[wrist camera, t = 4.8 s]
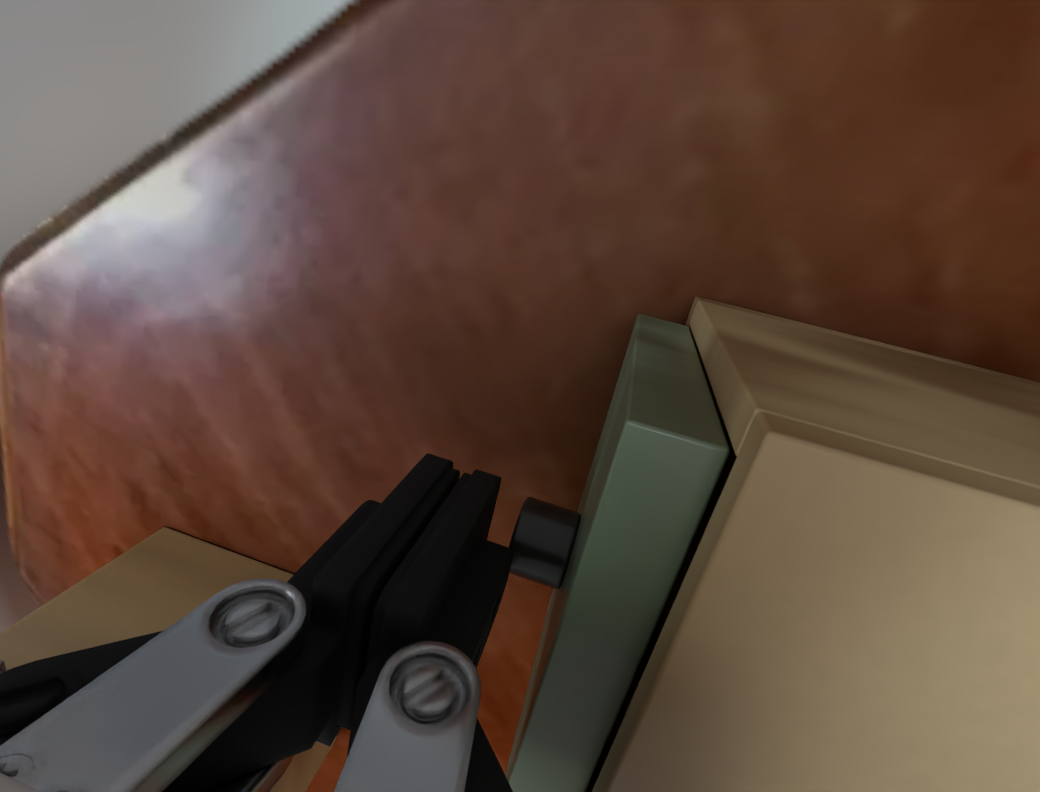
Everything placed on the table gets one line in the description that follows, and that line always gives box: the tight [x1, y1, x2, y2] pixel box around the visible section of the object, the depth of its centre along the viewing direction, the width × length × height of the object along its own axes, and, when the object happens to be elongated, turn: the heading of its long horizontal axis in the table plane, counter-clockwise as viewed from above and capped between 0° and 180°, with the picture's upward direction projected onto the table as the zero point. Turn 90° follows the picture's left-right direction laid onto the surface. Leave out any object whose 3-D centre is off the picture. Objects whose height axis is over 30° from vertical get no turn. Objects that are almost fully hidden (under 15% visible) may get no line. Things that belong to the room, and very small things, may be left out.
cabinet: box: [585, 296, 1040, 792], centre depth 9 cm, size 12×10×8 cm
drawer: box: [505, 314, 737, 792], centre depth 10 cm, size 12×9×7 cm
